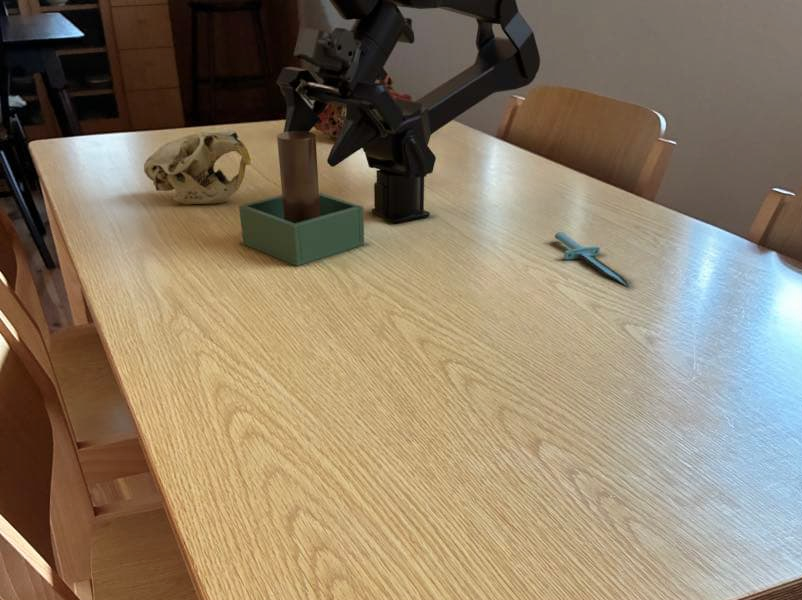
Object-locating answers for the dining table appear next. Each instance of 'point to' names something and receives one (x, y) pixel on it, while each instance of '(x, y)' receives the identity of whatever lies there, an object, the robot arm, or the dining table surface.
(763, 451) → the dining table surface
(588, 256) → the knife
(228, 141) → the skull
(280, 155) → the brown cylinder
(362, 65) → the robot arm
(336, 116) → the coral
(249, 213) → the basket
